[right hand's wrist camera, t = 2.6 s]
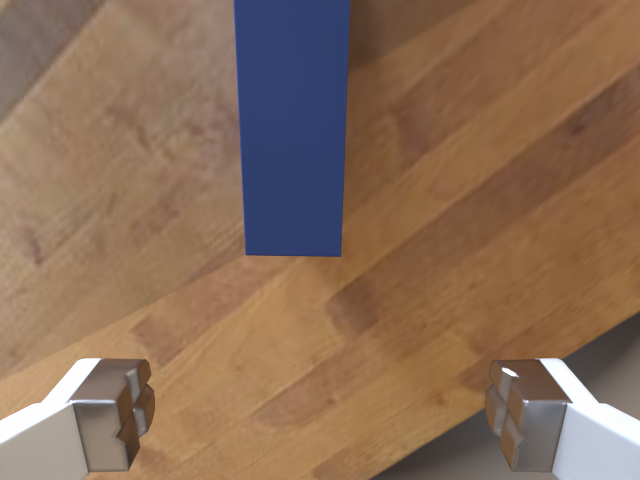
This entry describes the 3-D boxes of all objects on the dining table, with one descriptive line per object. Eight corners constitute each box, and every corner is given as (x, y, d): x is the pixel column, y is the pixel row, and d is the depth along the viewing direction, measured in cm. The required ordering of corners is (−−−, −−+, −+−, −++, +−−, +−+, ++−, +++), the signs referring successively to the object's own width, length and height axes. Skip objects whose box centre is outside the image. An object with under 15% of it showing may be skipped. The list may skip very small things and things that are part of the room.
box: (335, 208, 39) (341, 257, 29) (264, 207, 39) (245, 255, 29) (346, -145, 30) (359, -250, 20) (253, -147, 30) (221, -253, 20)
